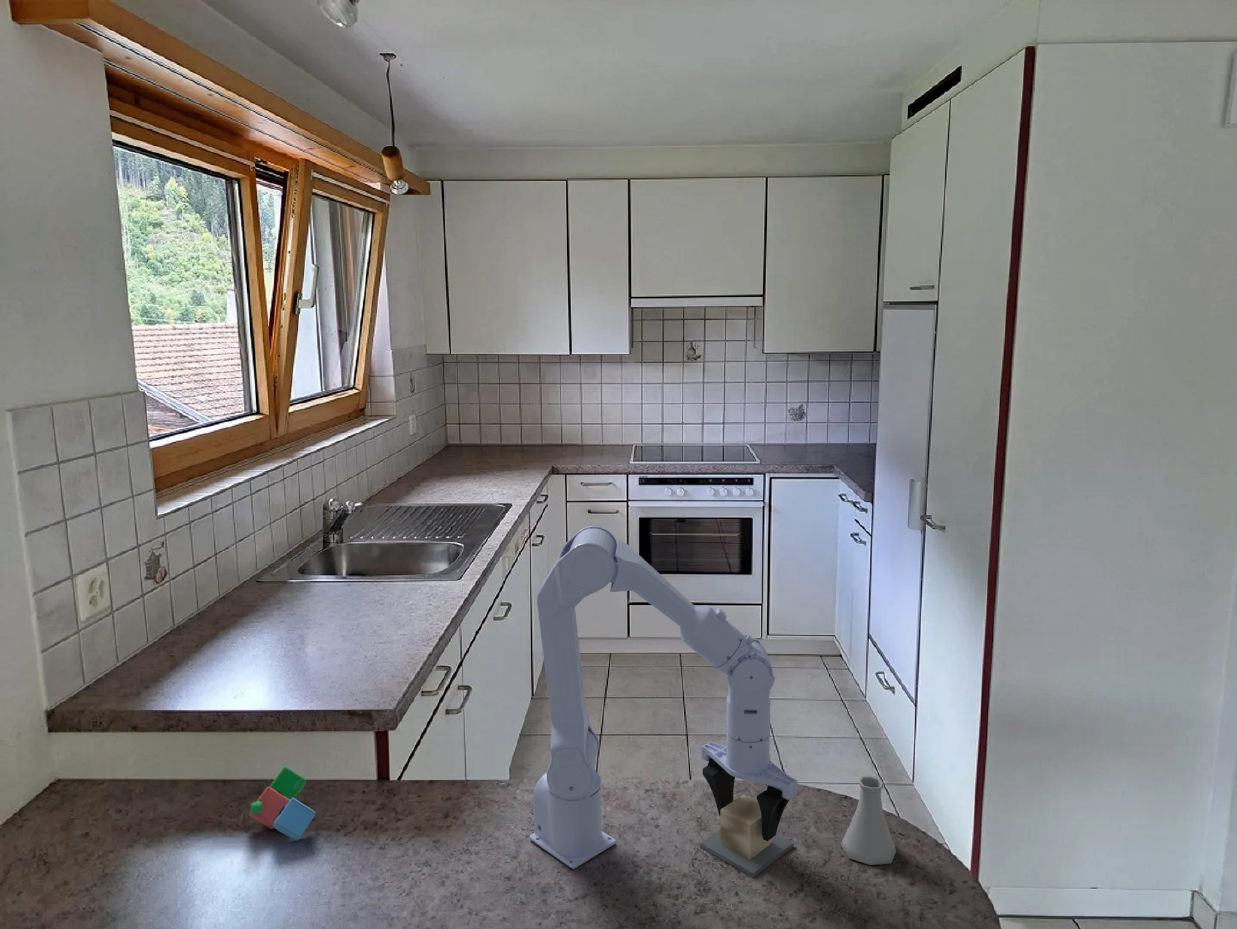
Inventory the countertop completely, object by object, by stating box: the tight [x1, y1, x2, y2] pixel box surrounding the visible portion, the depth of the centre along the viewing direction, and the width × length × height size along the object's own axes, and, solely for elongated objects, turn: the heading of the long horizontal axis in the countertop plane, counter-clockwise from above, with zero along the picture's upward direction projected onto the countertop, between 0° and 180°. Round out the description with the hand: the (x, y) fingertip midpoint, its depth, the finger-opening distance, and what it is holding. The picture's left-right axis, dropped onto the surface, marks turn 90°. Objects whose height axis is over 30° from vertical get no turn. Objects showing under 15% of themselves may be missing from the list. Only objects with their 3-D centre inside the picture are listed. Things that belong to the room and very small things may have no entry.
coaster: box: [699, 829, 795, 878], centre depth 114 cm, size 9×9×1 cm
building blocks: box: [249, 766, 317, 842], centre depth 120 cm, size 8×8×12 cm
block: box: [719, 794, 772, 859], centre depth 113 cm, size 5×5×5 cm
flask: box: [840, 775, 897, 866], centre depth 112 cm, size 7×7×10 cm
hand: (747, 825), depth 113 cm, fingers open, 7 cm apart
